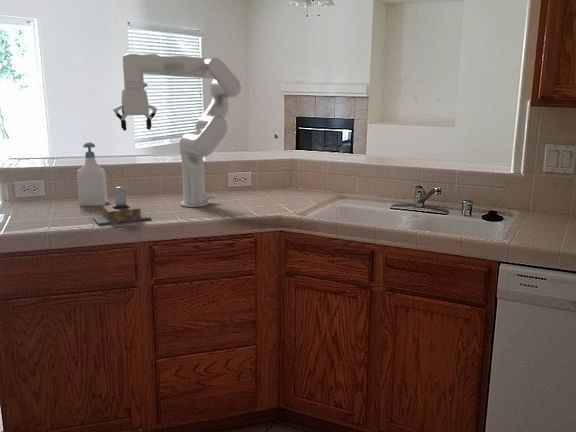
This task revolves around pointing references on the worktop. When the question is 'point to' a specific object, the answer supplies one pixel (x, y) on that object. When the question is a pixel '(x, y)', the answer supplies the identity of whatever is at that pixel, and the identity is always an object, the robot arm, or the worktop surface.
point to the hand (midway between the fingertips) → (136, 129)
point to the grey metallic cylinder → (120, 197)
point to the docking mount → (120, 215)
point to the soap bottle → (91, 181)
